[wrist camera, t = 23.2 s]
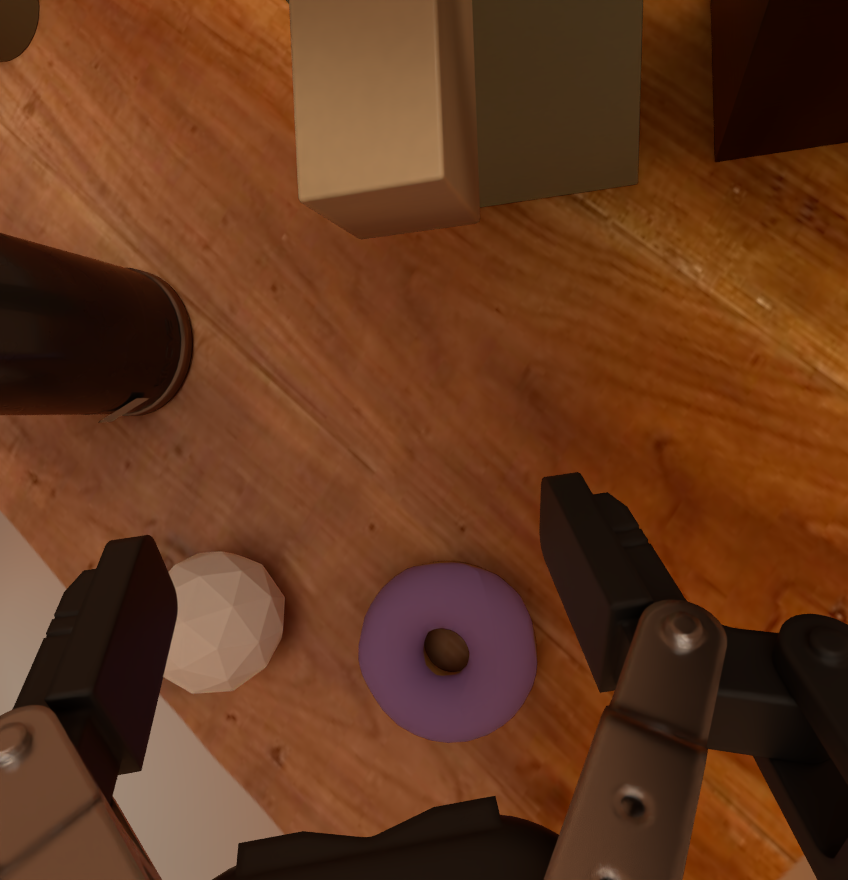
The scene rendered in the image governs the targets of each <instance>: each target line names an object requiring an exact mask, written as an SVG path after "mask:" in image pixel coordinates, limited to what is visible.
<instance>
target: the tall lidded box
mask: <svg viewBox="0 0 848 880" xmlns="http://www.w3.org/2000/svg"><path fill="white" fill-rule="evenodd" d="M286 1H287V2H288V3H289V0H286ZM472 12H473V39H474V66H475V93H476V120H477V147H478V174H479V201H480V207H486V206H492V205H499V204H506V203H513V202H519V201H526V200H533V199H540V198H547V197H553V196H560V195H567V194H574V193H581V192H587V191H594V190H601V189H608V188H614V187H621V186H628V185H635V184H637V183H638V162H639V126H640V91H641V55H642V19H643V0H472Z"/></svg>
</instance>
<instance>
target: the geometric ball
mask: <svg viewBox="0 0 848 880" xmlns="http://www.w3.org/2000/svg"><path fill="white" fill-rule="evenodd" d="M168 573H169V575H170V577H171V580H172V582H173V584H174V587H175V590H176V594H177V602H178V613H177V620H176V624H175V628H174V633H173V637H172V641H171V645H170V650H169V654H168V658H167V663H166V667H165V671H164V675H163V677H164V678H166V679H168V680H169V681H171V682H173V683H175V684H176V685H178V686H180V687H181V688H183V689H185V690H187V691H188V692H190V693H192V694H194V693H210V692H225V691H234V690H235V689H237V688H238V687H239V686H241V685H242V684H244V683H245V682H246V681H248V680H249V679H250V678H252V677H253V676H255V675H256V674H257V673H259V672H260V671H262V670H263V669H264V668H266V666H267V665H268V663H269V661H270V659H271V657H272V655H273V654H274V652H275V650H276V648H277V646H278V644H279V642H280V641H281V639H282V634H283V624H284V606H285V597H284V595H283V594H282V592H281V591H280V589H279V588H278V586H277V585H276V584H275V582H274V581H273V579H272V578H271V576H270V575H269V573H268V572H267V571H266V569H265V568H264V566H263V565H262V564H260V563H258V562H255V561H253V560H250V559H248V558H245V557H243V556H240V555H238V554H233V553H227V552H222V551H217V552H204V553H198V554H196V555H194V556H192V557H190V558H188V559H186V560H183V561H181V562H179V563H177V564H175V565H174V566H173V567H172V569H171V570H170V571H169V572H168Z"/></svg>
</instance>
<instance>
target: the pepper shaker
mask: <svg viewBox="0 0 848 880" xmlns="http://www.w3.org/2000/svg"><path fill="white" fill-rule="evenodd" d="M38 14H39V3H38V0H0V61H9V60H11V59H13V58H15V57H17V56H19V55H20V54H21V53H22V52H23V51H24V49H25V48H26V47H27V46H28V45H29V43H30V41H31V39H32V37H33V35H34V33H35V30H36V26H37V22H38Z"/></svg>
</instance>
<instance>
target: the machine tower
mask: <svg viewBox="0 0 848 880" xmlns="http://www.w3.org/2000/svg"><path fill="white" fill-rule="evenodd" d="M711 34H712V73H713V111H714V150H715V162H719V161H726V160H732V159H739V158H746V157H752V156H759V155H765V154H772V153H778V152H785V151H792V150H798V149H805V148H811V147H818V146H824V145H831V144H838V143H844V142H848V0H711Z"/></svg>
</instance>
